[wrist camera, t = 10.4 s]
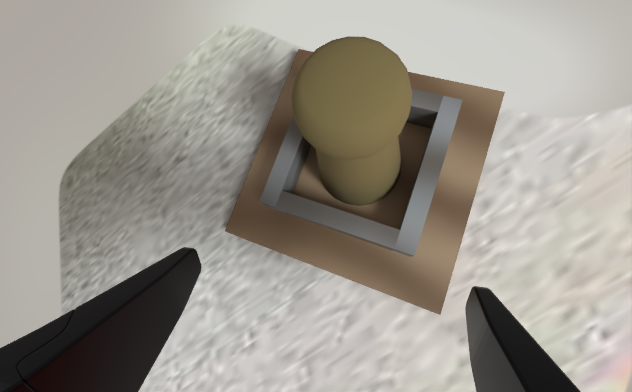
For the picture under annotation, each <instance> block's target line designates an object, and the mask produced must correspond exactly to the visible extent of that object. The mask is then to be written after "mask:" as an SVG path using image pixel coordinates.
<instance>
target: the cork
mask: <svg viewBox="0 0 632 392" xmlns="http://www.w3.org/2000/svg"><path fill="white" fill-rule="evenodd" d="M291 101H292V109H293V117H294V120H295V122H296V124H297V126H298V128H299V130H300V132H301V133H302V135H303V137H304V138H305V139H306V140H307V141H308V142H309V143H310V144H311V145H312V146H313V147H314V148H315V149H316V153H317V160H318V168H319V175H320V179H321V181H322V183H323V185H324V187H325V189H326V190H327V191H328V192H329V193H330V194H331V195H332V196H333V197H334V198H335V199H337V200H339V201H341V202H343V203H345V204H350V205H357V206H362V205H368V204H373V203H375V202H377V201H379V200H381V199H383V198H385V197H386V196H387V195H388V194H389V193H390V192H391V191H392V190H393V189H394V188H395V186H396V184H397V182H398V180H399V178H400V173H401V166H402V162H401V154H400V147H399V139H398V135H399V134H400V132H401V131H402V129H403V127H404V125H405V123H406V121H407V119H408V117H409V113H410V108H411V101H412V88H411V84H410V80H409V76H408V71H407V68H406V67H405V66H404V64H403V63H402V61H401V60H400V58H399V57H398V55H397V54H395V53H394V52H393V51H391V50H390V49H389V48H387V47H386V46H384V45H383V44H382V43H380V42H378V41H375V40H372V39H369V38H366V37H345V38H340V39H336V40H333V41H330V42H328V43H327V44H325V45H323V46H321V47H319V48H318V49H316V50H315V51H314V52H313V53H312V54H311V55H310V56H309V57H308V58H307V59H306V60H305V62H304V63H303V65H302V67H301V68H300V70H299V72H298V74H297V76H296V77H295V80H294V84H293V89H292V94H291Z"/></svg>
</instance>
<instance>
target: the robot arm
mask: <svg viewBox="0 0 632 392" xmlns="http://www.w3.org/2000/svg"><path fill="white" fill-rule="evenodd" d="M200 272H201V263H200V260H199V257H198V254H197V251H196V250H195V249H194V248H187V247H184V248H181V249H180V250H178V251H176V252H174V253H172V254H171V255H169V256H167V257H165V258H164V259H162V260H160V261H158V262H157V263H155V264H153V265H151V266H149V267H148V268H146V269H144V270H142V271H141V272H139V273H137V274H135V275H134V276H132V277H130V278H128V279H127V280H125V281H123V282H121V283H119V284H118V285H116V286H114V287H112V288H111V289H109V290H107V291H105V292H104V293H102V294H100V295H98V296H96V297H95V298H93V299H91V300H89V301H88V302H86V303H84V304H82V305H80V306H79V307H77V308H76V309H75V310H72V311H70V312H68V313H66V314H65V315H63V316H61V317H59V318H58V319H56V320H54V321H52V322H50V323H48V324H46V325H45V326H43V327H41V328H39V329H37V330H35V331H33V332H31V333H29V334H28V335H26V336H23V337H22V338H20V339H18V340H16V341H14V342H12V343H10V344H8V345H6V346H4V347H2V348H0V392H138V391H139V389H140V388H141V386H142V384H143V382H144V380H145V379H146V377H147V375H148V373H149V371H150V370H151V368H152V366H153V364H154V363H155V361H156V359H157V357H158V355H159V354H160V352H161V350H162V348H163V347H164V345H165V343H166V341H167V339H168V338H169V336H170V334H171V332H172V331H173V329H174V327H175V325H176V323H177V322H178V320H179V318H180V316H181V314H182V312H183V310H184V308H185V306H186V304H187V302H188V300H189V297H190V295H191V293H192V290H193V288H194V286H195V284H196V281H197V279H198V277H199V274H200ZM466 321H467V331H468V342H469V352H470V361H471V367H472V372H473V377H474V382H475V386H476V391H477V392H580V390H579V389H578V388H577V387H576V386H575V385H574V384H573V383H572V381H571V380H570V379H569V378H568V377H567V376H566V375H565V373H564V372H563V371H562V370H561V369H560V368H559V367H558V366H557V364H556V363H555V362H554V361H553V360H552V359H551V358H550V357H549V355H548V354H547V353H546V352H545V351H544V350H543V349H542V348H541V346H540V345H539V344H538V343H537V342H536V341H535V340H534V339H533V337H532V336H531V335H530V334H529V333H528V332H527V331H526V330H525V328H524V327H523V326H522V325H521V324H520V323H519V322H518V320H517V319H516V318H515V317H514V316H513V315H512V314H511V313H510V311H509V310H508V309H507V308H506V307H505V306H504V305H503V304H502V302H501V301H500V300H499V299H498V298H497V297H496V296H495V295H494V293H493V292H492V291H491V290H490V289H488V288H485V287H477V286H474V287H473V288H472V289H471V292H470V295H469V297H468V300H467V303H466Z"/></svg>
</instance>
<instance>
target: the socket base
mask: <svg viewBox="0 0 632 392" xmlns="http://www.w3.org/2000/svg"><path fill="white" fill-rule="evenodd" d="M312 53H313V52H310V51H305V50H301V49H299V50H298V52H297V55H296V57H295V60H294V62H293V65H292V67H291V70H290V72H289V75H288V77H287V80H286V82H285V84H284V87H283V89H282V92H281V94H280V97H279V99H278V102H277V104H276V107H275V109H274V111H273V114H272V116H271V119H270V121H269V124H268V126H267V129H266V131H265V134H264V136H263V138H262V141H261V143H260V146H259V148H258V151H257V153H256V156H255V158H254V161H253V163H252V166H251V168H250V170H249V173H248V175H247V178H246V180H245V183H244V185H243V188H242V190H241V193H240V195H239V197H238V200H237V202H236V205H235V207H234V210H233V212H232V215H231V217H230V220H229V222H228V225H227V227H226V229H225V231H226V232H229V233H231V234H234V235H236V236H239V237H241V238H244V239H247V240H249V241H252V242H254V243H257V244H259V245H262V246H265V247H267V248H270V249H272V250H275V251H277V252H280V253H283V254H285V255H288V256H290V257H293V258H295V259H298V260H301V261H303V262H306V263H308V264H311V265H313V266H316V267H319V268H321V269H324V270H326V271H329V272H331V273H334V274H337V275H339V276H342V277H344V278H347V279H349V280H352V281H355V282H357V283H360V284H362V285H365V286H367V287H370V288H373V289H375V290H378V291H380V292H383V293H386V294H388V295H391V296H393V297H396V298H398V299H401V300H404V301H406V302H409V303H411V304H414V305H416V306H419V307H422V308H424V309H427V310H429V311H432V312H434V313H437V314H441V310H442V307H443V303H444V300H445V297H446V293H447V290H448V286H449V283H450V279H451V276H452V272H453V269H454V265H455V262H456V259H457V255H458V252H459V248H460V245H461V241H462V238H463V234H464V231H465V227H466V224H467V221H468V217H469V214H470V210H471V207H472V203H473V200H474V196H475V193H476V189H477V186H478V183H479V179H480V176H481V172H482V169H483V165H484V162H485V158H486V155H487V151H488V148H489V145H490V141H491V138H492V134H493V131H494V127H495V124H496V120H497V117H498V113H499V110H500V107H501V103H502V100H503V96H504V92H502V91H497V90H492V89H487V88H483V87H478V86H473V85H468V84H463V83H459V82H454V81H449V80H444V79H439V78H435V77H430V76H425V75H420V74H416V73H411V72H408V76H409V80H410V84H411V88H412V101H411V108H410V113H409V117H408V119H407V121H406V123H405V125H404V127H403V129H402V131H401V132H400V134H399V135H398V139H399V147H400V154H401V162H402V166H401V173H400V178H399V180H398V182H397V184H396V186H395V188H394V189H393V190H392V191H391V192H390V193H389V194H388V195H387V196H386V197H385V198H383V199H381V200H379V201H377V202H375V203H373V204H368V205H362V206H357V205H350V204H345V203H343V202H341V201H339V200H337V199H335V198H334V197H333V196H332V195H331V194H330V193H329V192H328V191H327V190H326V189H325V187H324V185H323V183H322V181H321V179H320V175H319V168H318V160H317V153H316V149H315V148H314V147H313V146H312V145H311V144H310V143H309V142H308V141H307V140H306V139H305V138H304V137H303V135H302V133H301V132H300V130H299V128H298V126H297V124H296V122H295V120H294V117H293V109H292V101H291V94H292V89H293V84H294V80H295V77H296V76H297V74H298V72H299V70H300V68H301V67H302V65H303V63H304V62H305V60H306V59H307V58H308V57H309V56H310V55H311V54H312Z"/></svg>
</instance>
